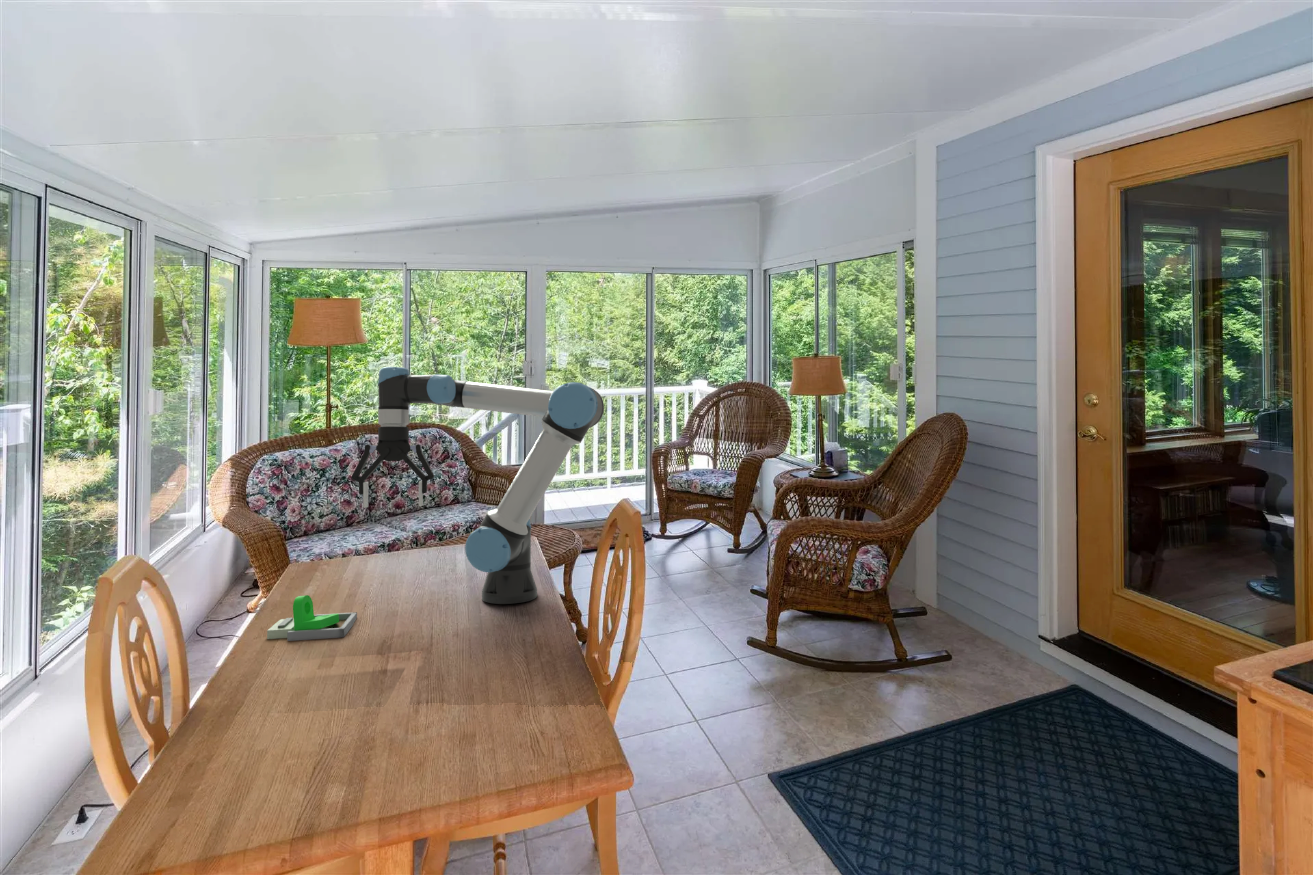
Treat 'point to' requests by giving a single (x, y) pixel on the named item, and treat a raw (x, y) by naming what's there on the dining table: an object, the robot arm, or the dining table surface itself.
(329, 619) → the mechanical part
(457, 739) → the dining table surface
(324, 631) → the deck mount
